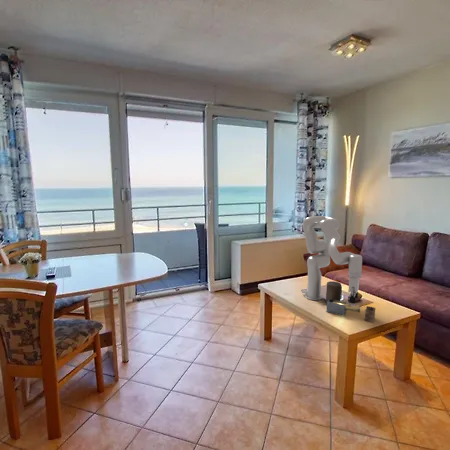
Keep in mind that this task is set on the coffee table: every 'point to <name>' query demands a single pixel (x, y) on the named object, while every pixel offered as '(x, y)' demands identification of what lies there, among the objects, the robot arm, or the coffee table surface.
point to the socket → (369, 314)
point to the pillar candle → (333, 290)
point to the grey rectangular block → (336, 307)
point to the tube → (350, 307)
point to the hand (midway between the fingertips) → (353, 300)
